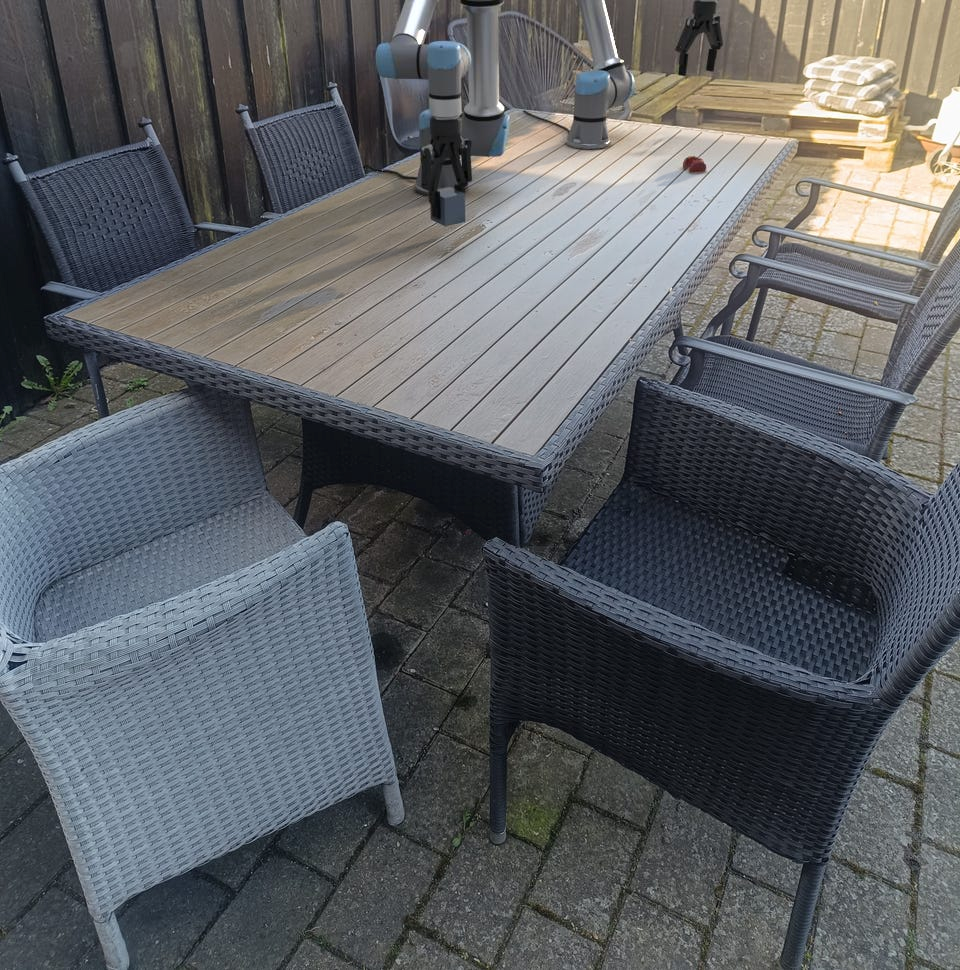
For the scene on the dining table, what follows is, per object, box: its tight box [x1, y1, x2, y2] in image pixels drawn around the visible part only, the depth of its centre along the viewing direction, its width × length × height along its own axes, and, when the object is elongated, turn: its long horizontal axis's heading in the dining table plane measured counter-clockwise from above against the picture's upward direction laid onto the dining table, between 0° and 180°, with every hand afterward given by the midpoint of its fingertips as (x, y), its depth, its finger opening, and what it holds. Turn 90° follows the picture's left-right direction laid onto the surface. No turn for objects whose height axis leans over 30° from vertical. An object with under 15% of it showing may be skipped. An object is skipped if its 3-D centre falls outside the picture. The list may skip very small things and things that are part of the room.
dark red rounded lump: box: [682, 155, 707, 173], centre depth 275 cm, size 6×4×8 cm
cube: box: [429, 187, 466, 227], centre depth 210 cm, size 7×6×7 cm
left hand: (447, 214), depth 211 cm, fingers closed on cube, 6 cm apart
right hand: (695, 73), depth 280 cm, fingers open, 13 cm apart
